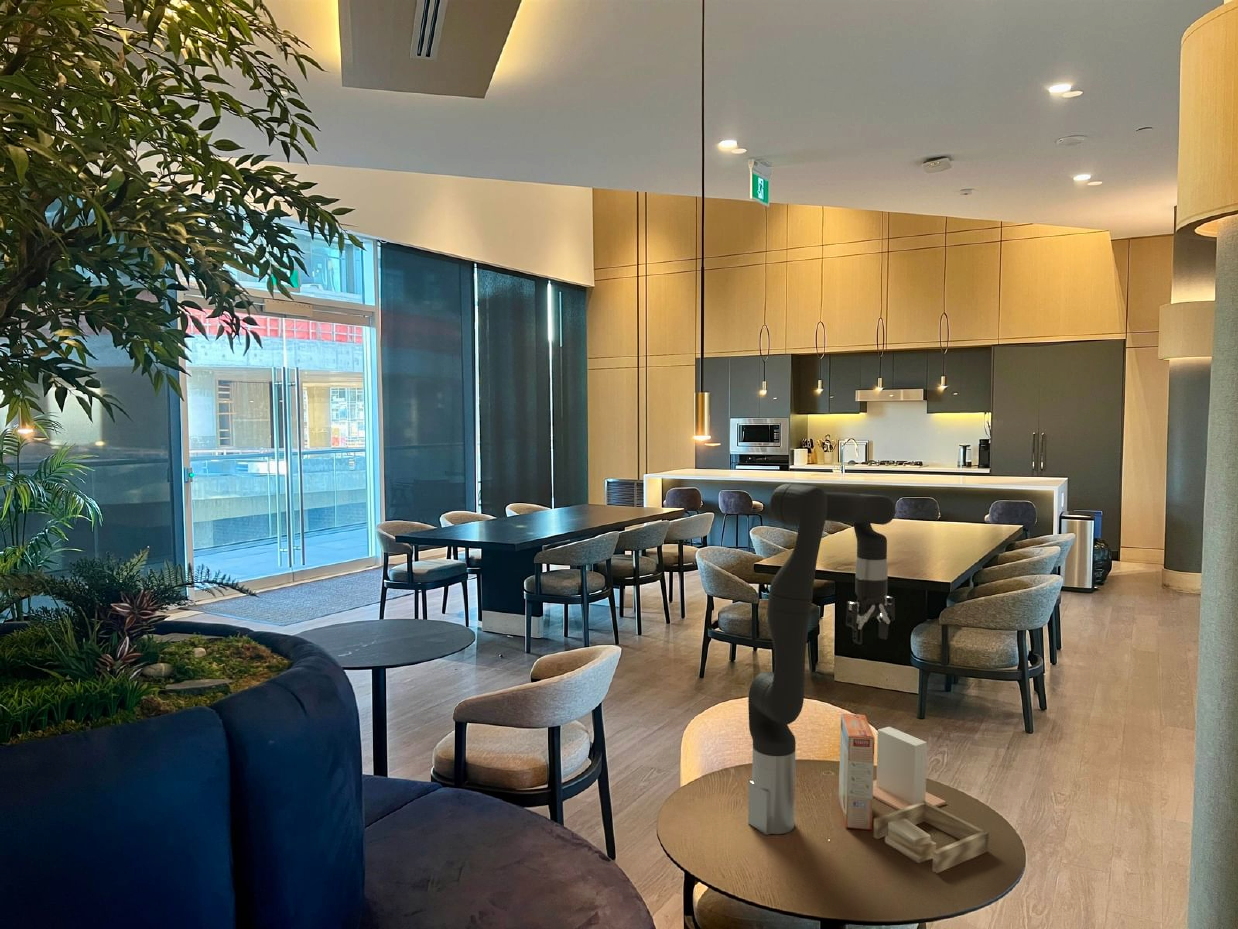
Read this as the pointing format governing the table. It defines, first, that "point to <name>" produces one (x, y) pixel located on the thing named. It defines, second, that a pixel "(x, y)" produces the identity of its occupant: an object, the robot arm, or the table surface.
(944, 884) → the table surface
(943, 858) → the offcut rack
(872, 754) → the cracker box
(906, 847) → the offcut stack
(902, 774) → the white block
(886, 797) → the terracotta tile
